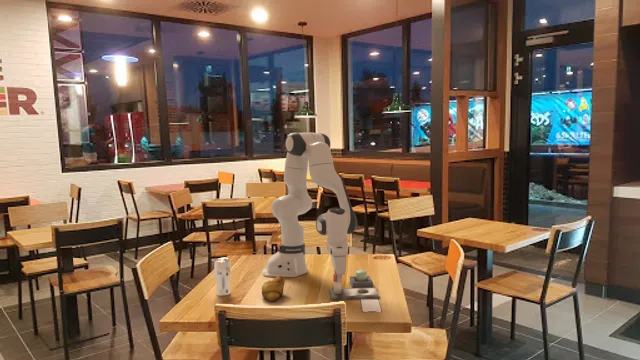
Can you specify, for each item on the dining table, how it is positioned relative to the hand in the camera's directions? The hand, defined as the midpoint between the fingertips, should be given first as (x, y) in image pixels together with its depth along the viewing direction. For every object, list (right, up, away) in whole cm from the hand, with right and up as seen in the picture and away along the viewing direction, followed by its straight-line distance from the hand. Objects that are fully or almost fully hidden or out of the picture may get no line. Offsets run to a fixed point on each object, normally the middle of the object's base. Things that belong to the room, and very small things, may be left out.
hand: (338, 278), depth 193 cm
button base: (+11, -6, +13) cm, 18 cm away
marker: (0, -6, +1) cm, 6 cm away
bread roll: (-28, -8, 0) cm, 29 cm away
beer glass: (-50, -8, +5) cm, 50 cm away
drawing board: (+7, -7, +1) cm, 10 cm away
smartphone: (+13, -9, -10) cm, 18 cm away
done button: (+11, -3, +12) cm, 17 cm away
